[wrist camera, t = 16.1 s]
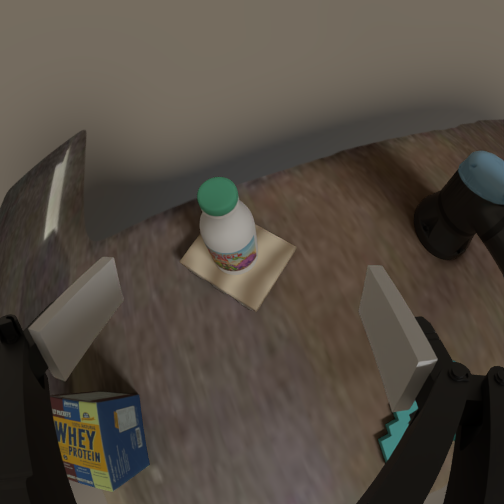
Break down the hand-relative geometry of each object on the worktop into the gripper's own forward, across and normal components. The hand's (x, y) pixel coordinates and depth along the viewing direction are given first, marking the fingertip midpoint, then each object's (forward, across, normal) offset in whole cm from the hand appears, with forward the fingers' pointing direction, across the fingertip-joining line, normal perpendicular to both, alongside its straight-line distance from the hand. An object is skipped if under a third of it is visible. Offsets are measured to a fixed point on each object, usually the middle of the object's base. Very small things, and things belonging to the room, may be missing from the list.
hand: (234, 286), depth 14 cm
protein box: (+12, -26, -42) cm, 50 cm away
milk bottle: (+33, -5, -14) cm, 36 cm away
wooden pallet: (+36, -4, -17) cm, 40 cm away
